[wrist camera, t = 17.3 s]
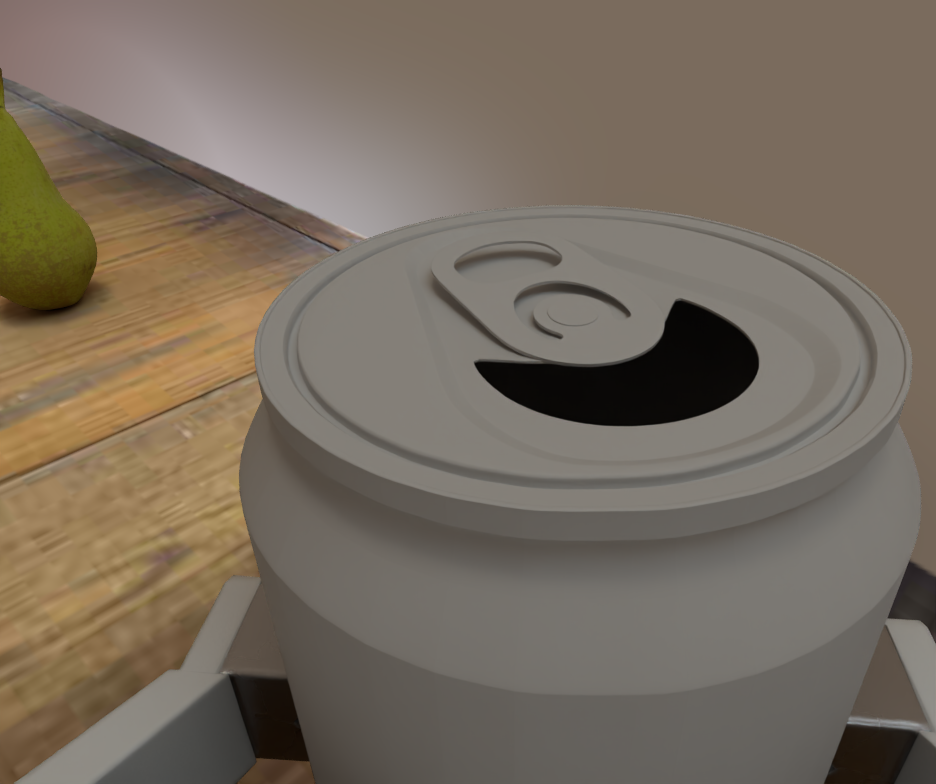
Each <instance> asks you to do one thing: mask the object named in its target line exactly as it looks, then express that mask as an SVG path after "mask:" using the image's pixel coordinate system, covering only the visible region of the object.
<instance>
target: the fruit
mask: <svg viewBox="0 0 936 784" xmlns="http://www.w3.org/2000/svg"><path fill="white" fill-rule="evenodd" d="M96 262H97V247H96V243H95V239H94V237H93V234H92V232H91V230H90V227H89V226H88V225H87V223H86V222H85V221H84V219H83V218H82V217H81V216H80V215H79V214H78V213H77V212H76V211H75V210H74V209H73V208H72V207H71V206H70V205H69V204H68V203H67V202H66V201H65V200H64V199H63V198H62V196H61V195H60V193H59V192H58V190H57V188H56V186H55V185H54V183H53V181H52V180H51V178H50V176H49V174H48V172H47V171H46V169H45V167H44V165H43V163H42V161H41V160H40V158H39V156H38V154H37V153H36V151H35V149H34V148H33V146H32V145H31V143H30V142H29V140H28V139H27V137H26V136H25V134H24V133H23V132H22V130H21V129H20V128H19V126H18V125H17V123H16V121H15V120H14V119H13V117H12V116H11V115H10V114H9V113H8V112H7V111H6V110H5V104H4V88H3V79H2V70H1V68H0V295H1V296H3V297H5V298H7V299H9V300H10V301H12V302H14V303H17V304H19V305H22V306H24V307H28V308H31V309H39V310H51V309H57V308H62V307H67V306H70V305H73V304H75V303H77V302H78V301H79V300H80V298H81V297H82V296H83V294H84V292H85V290H86V288H87V286H88V284H89V282H90V280H91V277H92V275H93V272H94V269H95V266H96Z"/></svg>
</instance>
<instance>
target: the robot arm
mask: <svg viewBox="0 0 936 784" xmlns="http://www.w3.org/2000/svg"><path fill="white" fill-rule="evenodd" d="M256 758H263V759H278V760H294V761H309V757H308V753H307V749H306V746H305V742H304V738H303V734H302V731H301V727H300V723H299V719H298V716H297V712H296V708H295V704H294V701H293V697H292V693H291V689H290V686H289V682H288V678H287V674H286V671H285V667H284V663H283V659H282V656H281V652H280V648H279V644H278V641H277V637H276V633H275V629H274V626H273V622H272V618H271V614H270V611H269V607H268V603H267V599H266V596H265V592H264V588H263V584H262V581H261V577H250V576H238V575H233V576H232V577H231V578H230V579H229V580H228V581H227V582H225V584H224V585H223V587H222V589H221V591H220V593H219V595H218V596H217V598H216V600H215V602H214V604H213V606H212V608H211V610H210V612H209V614H208V616H207V618H206V620H205V621H204V623H203V625H202V627H201V629H200V631H199V633H198V635H197V637H196V639H195V641H194V643H193V645H192V646H191V648H190V650H189V652H188V654H187V656H186V658H185V660H184V662H183V664H182V666H181V668H180V670H170V669H169V670H168V671H166V672H165V673H164V674H162V675H161V676H160V677H158V678H157V679H155V680H154V681H153V682H151V683H150V684H149V685H147V686H146V687H145V688H143V689H142V690H141V691H139V692H138V693H136V694H135V695H134V696H132V697H131V698H130V699H128V700H127V701H126V702H124V703H123V704H121V705H120V706H119V707H117V708H116V709H115V710H113V711H112V712H111V713H109V714H108V715H106V716H105V717H104V718H102V719H101V720H100V721H98V722H97V723H96V724H94V725H93V726H91V727H90V728H89V729H87V730H86V731H85V732H83V733H82V734H81V735H79V736H78V737H77V738H75V739H74V740H72V741H71V742H70V743H68V744H67V745H66V746H64V747H63V748H62V749H60V750H59V751H57V752H56V753H55V754H53V755H52V756H51V757H49V758H48V759H47V760H45V761H44V762H42V763H41V764H40V765H38V766H37V767H36V768H34V769H33V770H32V771H30V772H29V773H27V774H26V775H25V776H23V777H22V778H21V779H19V780H18V781H17V782H15V783H14V784H236V783H237V782H238V781H239V780H240V779H241V778H242V777H243V776H244V775H245V774H246V773H247V772H248V771H249V770H250V769H251V768H252V766H253V765H254V764H255V763H256ZM309 762H310V761H309ZM824 784H936V644H935V642H934V640H933V638H932V636H931V634H930V632H929V630H928V628H927V627H926V626H925V625H924V624H923V623H922V622H921V621H916V620H900V619H887V620H886V622H885V625H884V627H883V630H882V633H881V635H880V638H879V641H878V643H877V646H876V648H875V651H874V654H873V656H872V659H871V662H870V664H869V667H868V669H867V672H866V675H865V677H864V680H863V682H862V685H861V688H860V690H859V693H858V696H857V698H856V701H855V703H854V706H853V709H852V711H851V714H850V716H849V719H848V722H847V724H846V727H845V730H844V732H843V735H842V737H841V740H840V743H839V745H838V748H837V750H836V753H835V756H834V758H833V761H832V764H831V766H830V769H829V771H828V774H827V777H826V779H825V782H824Z"/></svg>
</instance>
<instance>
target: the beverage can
mask: <svg viewBox="0 0 936 784" xmlns="http://www.w3.org/2000/svg"><path fill="white" fill-rule="evenodd" d="M254 356H255V367H256V371H257V376H258V380H259V385H260V390H261V393H262V397H263V399H262V401H261V403H260V405H259V407H258V410H257V412H256V414H255V416H254V419H253V421H252V423H251V426H250V428H249V431H248V433H247V436H246V438H245V442H244V446H243V450H242V454H241V462H240V470H239V486H240V496H241V502H242V507H243V513H244V517H245V521H246V524H247V528H248V532H249V536H250V539H251V543H252V547H253V551H254V554H255V558H256V562H257V566H258V569H259V573H260V577H261V581H262V584H263V588H264V592H265V596H266V599H267V603H268V607H269V611H270V614H271V618H272V622H273V626H274V629H275V633H276V637H277V641H278V644H279V648H280V652H281V656H282V659H283V663H284V667H285V671H286V674H287V678H288V682H289V686H290V689H291V693H292V697H293V701H294V704H295V708H296V712H297V716H298V719H299V723H300V727H301V731H302V734H303V738H304V742H305V746H306V749H307V753H308V757H309V761H310V764H311V768H312V772H313V776H314V779H315V783H316V784H824V782H825V779H826V777H827V774H828V771H829V769H830V766H831V764H832V761H833V758H834V756H835V753H836V750H837V748H838V745H839V743H840V740H841V737H842V735H843V732H844V730H845V727H846V724H847V722H848V719H849V716H850V714H851V711H852V709H853V706H854V703H855V701H856V698H857V696H858V693H859V690H860V688H861V685H862V682H863V680H864V677H865V675H866V672H867V669H868V667H869V664H870V662H871V659H872V656H873V654H874V651H875V648H876V646H877V643H878V641H879V638H880V635H881V633H882V630H883V627H884V625H885V622H886V620H887V617H888V614H889V612H890V609H891V607H892V604H893V601H894V599H895V596H896V593H897V591H898V588H899V586H900V583H901V580H902V578H903V575H904V573H905V570H906V567H907V565H908V562H909V559H910V557H911V554H912V551H913V548H914V545H915V542H916V539H917V535H918V530H919V526H920V516H921V515H920V514H921V488H920V481H919V476H918V472H917V469H916V466H915V463H914V459H913V456H912V454H911V451H910V448H909V446H908V444H907V441H906V439H905V437H904V434H903V432H902V429H901V427H900V425H899V423H898V420H899V418H900V414H901V411H902V408H903V405H904V402H905V398H906V396H907V393H908V390H909V386H910V383H911V375H912V354H911V349H910V345H909V342H908V340H907V337H906V335H905V332H904V330H903V328H902V326H901V325H900V323H899V322H898V320H897V319H896V317H895V316H894V315H893V314H892V312H891V311H890V309H889V308H888V307H887V306H886V305H885V304H884V302H883V301H882V300H881V299H880V298H879V297H878V296H877V295H876V294H875V293H873V292H872V291H871V290H870V289H869V288H867V287H866V286H865V285H864V284H862V283H861V282H860V281H859V280H857V279H856V278H855V277H853V276H852V275H850V274H849V273H847V272H845V271H844V270H842V269H840V268H839V267H837V266H835V265H834V264H832V263H830V262H829V261H827V260H825V259H823V258H821V257H819V256H817V255H815V254H813V253H810V252H808V251H806V250H804V249H801V248H799V247H797V246H795V245H793V244H790V243H787V242H784V241H782V240H779V239H776V238H773V237H770V236H767V235H764V234H761V233H758V232H754V231H751V230H748V229H744V228H740V227H737V226H733V225H730V224H725V223H721V222H717V221H713V220H708V219H703V218H698V217H692V216H686V215H681V214H675V213H668V212H661V211H653V210H645V209H634V208H623V207H607V206H579V205H577V206H575V205H563V206H561V205H559V206H529V207H514V208H503V209H494V210H485V211H477V212H470V213H464V214H458V215H453V216H448V217H442V218H437V219H433V220H428V221H424V222H420V223H416V224H412V225H408V226H404V227H401V228H397V229H394V230H391V231H388V232H385V233H382V234H379V235H376V236H373V237H370V238H368V239H365V240H363V241H360V242H358V243H356V244H354V245H351V246H349V247H347V248H345V249H343V250H341V251H339V252H337V253H335V254H333V255H331V256H329V257H327V258H326V259H324V260H322V261H320V262H319V263H317V264H316V265H314V266H313V267H311V268H310V269H308V270H306V271H305V272H304V273H303V274H301V275H300V276H299V277H297V278H296V279H295V280H294V281H292V282H291V283H290V284H289V285H288V286H287V287H286V288H285V289H284V290H283V291H282V292H281V293H280V294H279V295H278V297H277V298H276V299H275V300H274V301H273V303H272V304H271V305H270V307H269V308H268V310H267V311H266V313H265V315H264V317H263V319H262V321H261V323H260V325H259V328H258V332H257V335H256V339H255V348H254Z"/></svg>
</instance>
